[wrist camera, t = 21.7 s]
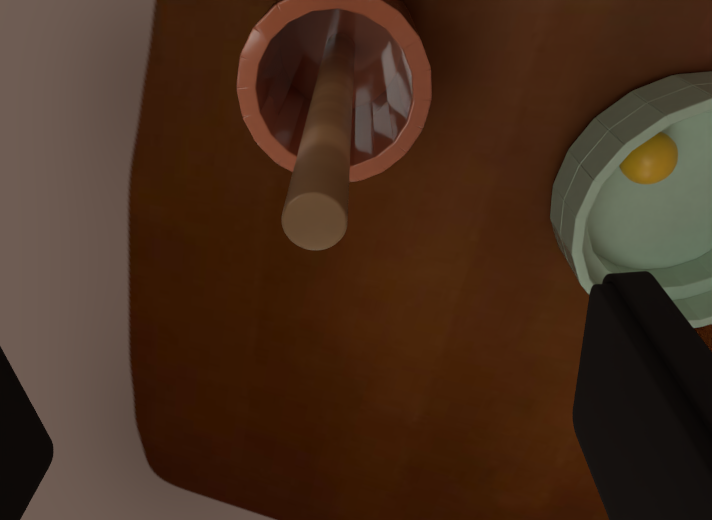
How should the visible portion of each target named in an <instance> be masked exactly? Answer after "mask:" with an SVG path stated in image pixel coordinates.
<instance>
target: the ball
mask: <svg viewBox="0 0 712 520" xmlns="http://www.w3.org/2000/svg"><path fill="white" fill-rule="evenodd" d="M677 161H678V149H677V146H676V144H675V142H674V141H673V140H672V138H671V137H669V136H668V135H667V134H665V133H663V132H659V133H658V134H656V135H655V136H653V137H652V138H650V139H649V140H648V141H646V142H645V143H643V144H642V145H640V146H639V147H637V148H636V149H634V150H633V151H631V153H630V154H629V155H628V156H627V157H626V158H625V159H624V161H623V162H622V163H621V164H620V165H619V167H620V169H621V171H622V173H623V174H624V175H625V176H626V177H627V178H628V179H629V180H631V181H633V182H635V183H638V184H645V185H647V184H654V183H657V182H660V181H662V180H664V179H665V178H667V177H668V176H669V175H670V174H671V173H672V172H673V170H674V169H675V167H676V165H677Z"/></svg>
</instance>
